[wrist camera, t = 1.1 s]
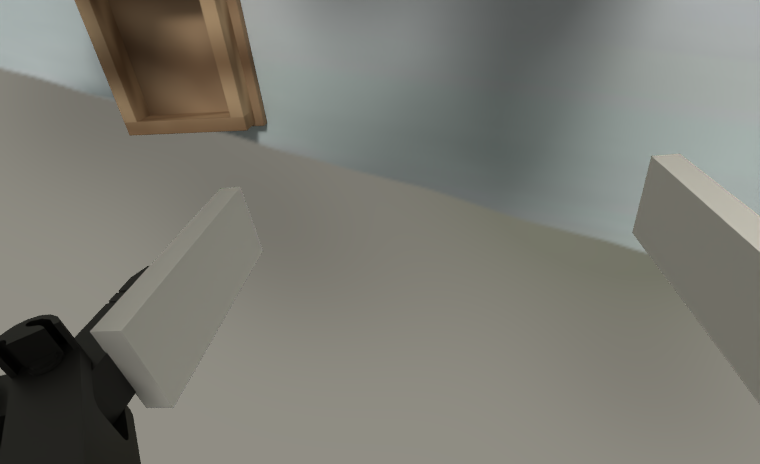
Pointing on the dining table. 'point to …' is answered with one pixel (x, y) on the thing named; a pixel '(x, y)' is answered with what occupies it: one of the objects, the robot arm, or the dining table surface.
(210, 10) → the box
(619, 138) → the dining table surface
